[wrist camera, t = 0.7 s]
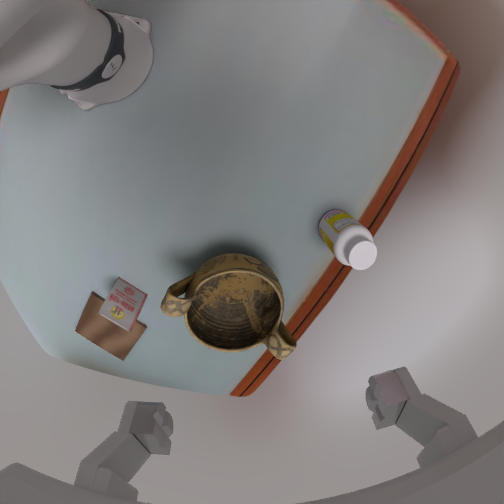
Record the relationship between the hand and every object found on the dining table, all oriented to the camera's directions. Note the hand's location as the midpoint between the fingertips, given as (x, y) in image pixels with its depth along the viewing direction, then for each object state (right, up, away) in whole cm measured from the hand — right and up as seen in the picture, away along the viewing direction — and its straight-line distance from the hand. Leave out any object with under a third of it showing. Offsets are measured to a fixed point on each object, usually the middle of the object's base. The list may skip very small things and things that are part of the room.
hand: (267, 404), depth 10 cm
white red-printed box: (-25, -2, +44) cm, 51 cm away
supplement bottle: (+14, +11, +41) cm, 45 cm away
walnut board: (-33, -11, +47) cm, 59 cm away
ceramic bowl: (-4, 0, +44) cm, 44 cm away
